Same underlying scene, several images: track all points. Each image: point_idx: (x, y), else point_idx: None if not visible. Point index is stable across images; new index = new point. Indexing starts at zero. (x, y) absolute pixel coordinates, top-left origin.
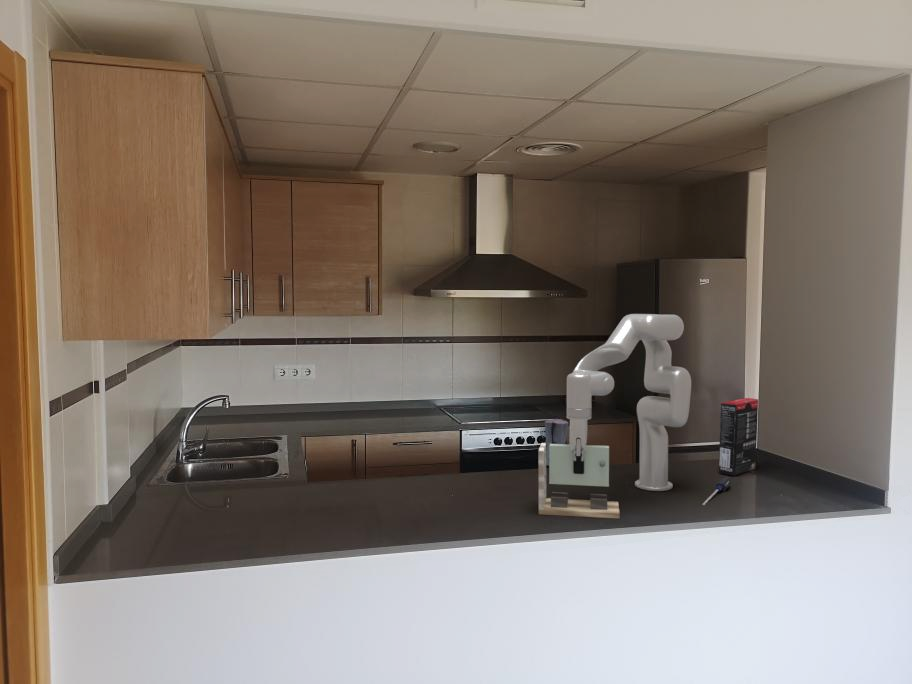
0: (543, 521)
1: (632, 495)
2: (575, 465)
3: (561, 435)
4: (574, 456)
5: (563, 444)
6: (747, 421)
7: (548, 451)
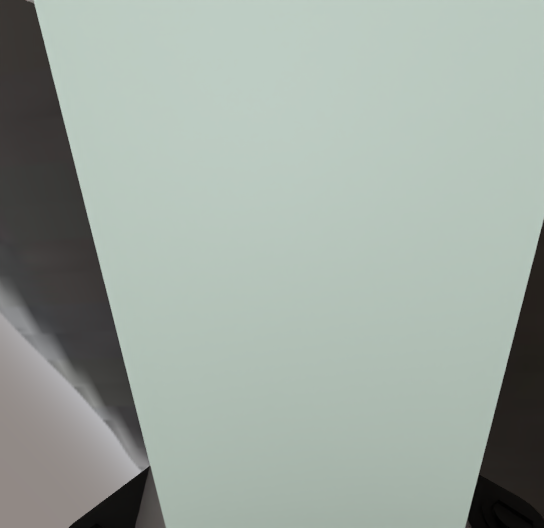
0: (30, 67)
1: (517, 426)
2: None
3: None
4: (143, 497)
5: (448, 512)
6: None
7: None
